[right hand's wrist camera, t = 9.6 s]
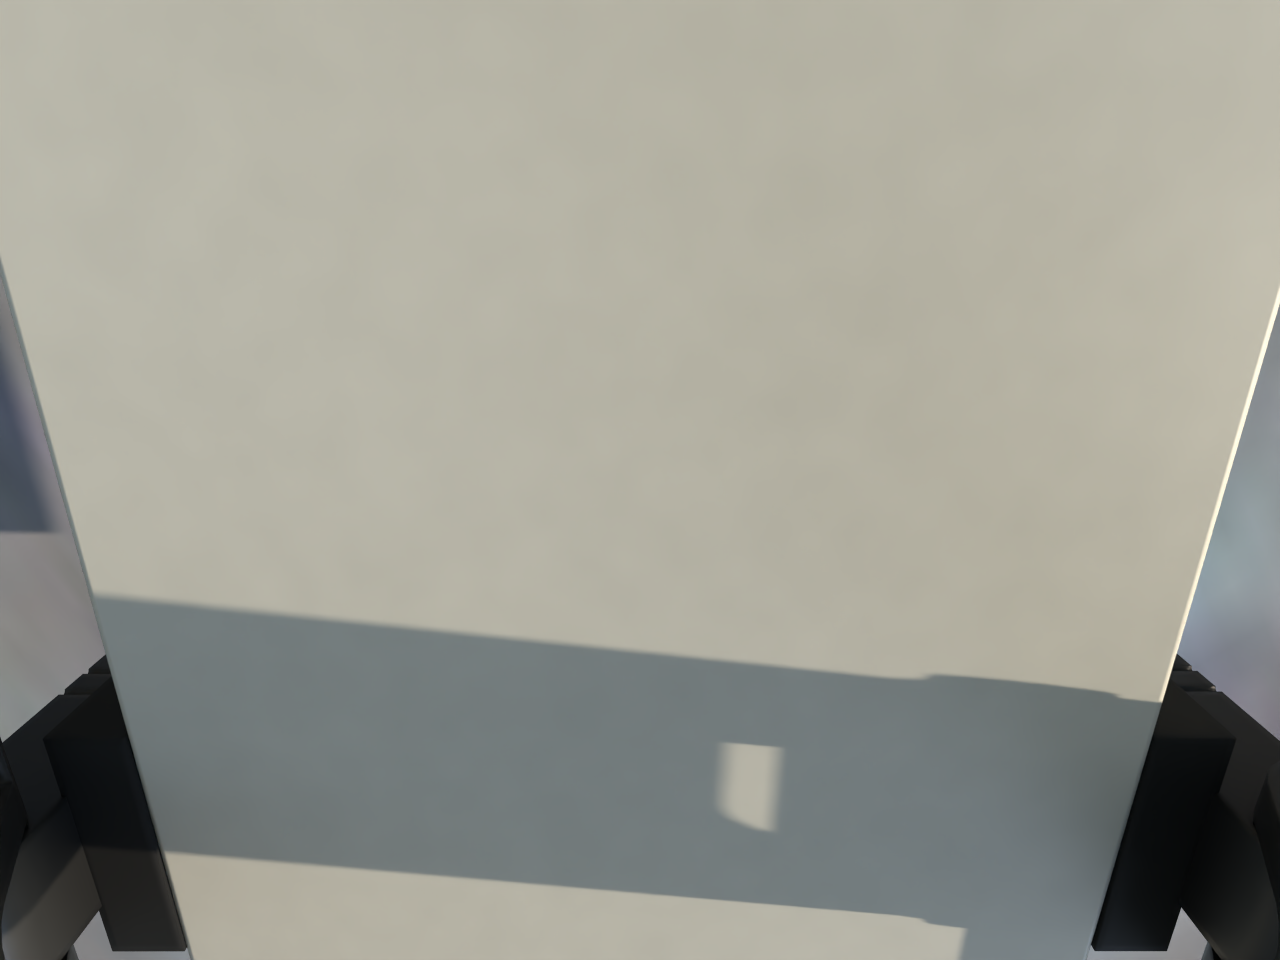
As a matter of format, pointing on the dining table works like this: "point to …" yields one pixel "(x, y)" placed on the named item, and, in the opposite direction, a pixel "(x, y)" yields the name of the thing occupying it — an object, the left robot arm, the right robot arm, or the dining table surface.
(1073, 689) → the off-white long beam
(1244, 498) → the dining table surface
